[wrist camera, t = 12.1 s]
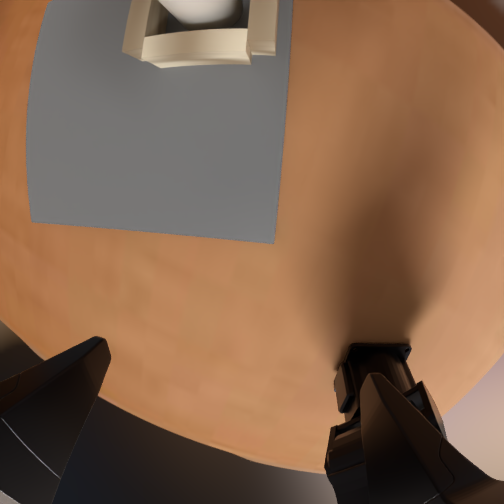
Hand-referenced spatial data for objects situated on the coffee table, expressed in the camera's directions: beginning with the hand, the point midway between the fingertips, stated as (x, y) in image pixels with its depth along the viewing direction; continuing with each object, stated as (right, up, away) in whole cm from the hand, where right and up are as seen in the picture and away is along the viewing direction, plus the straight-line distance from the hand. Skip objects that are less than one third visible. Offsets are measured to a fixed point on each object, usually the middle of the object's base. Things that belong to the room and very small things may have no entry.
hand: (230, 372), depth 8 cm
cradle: (-2, +21, +6) cm, 22 cm away
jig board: (-8, +17, +8) cm, 20 cm away
